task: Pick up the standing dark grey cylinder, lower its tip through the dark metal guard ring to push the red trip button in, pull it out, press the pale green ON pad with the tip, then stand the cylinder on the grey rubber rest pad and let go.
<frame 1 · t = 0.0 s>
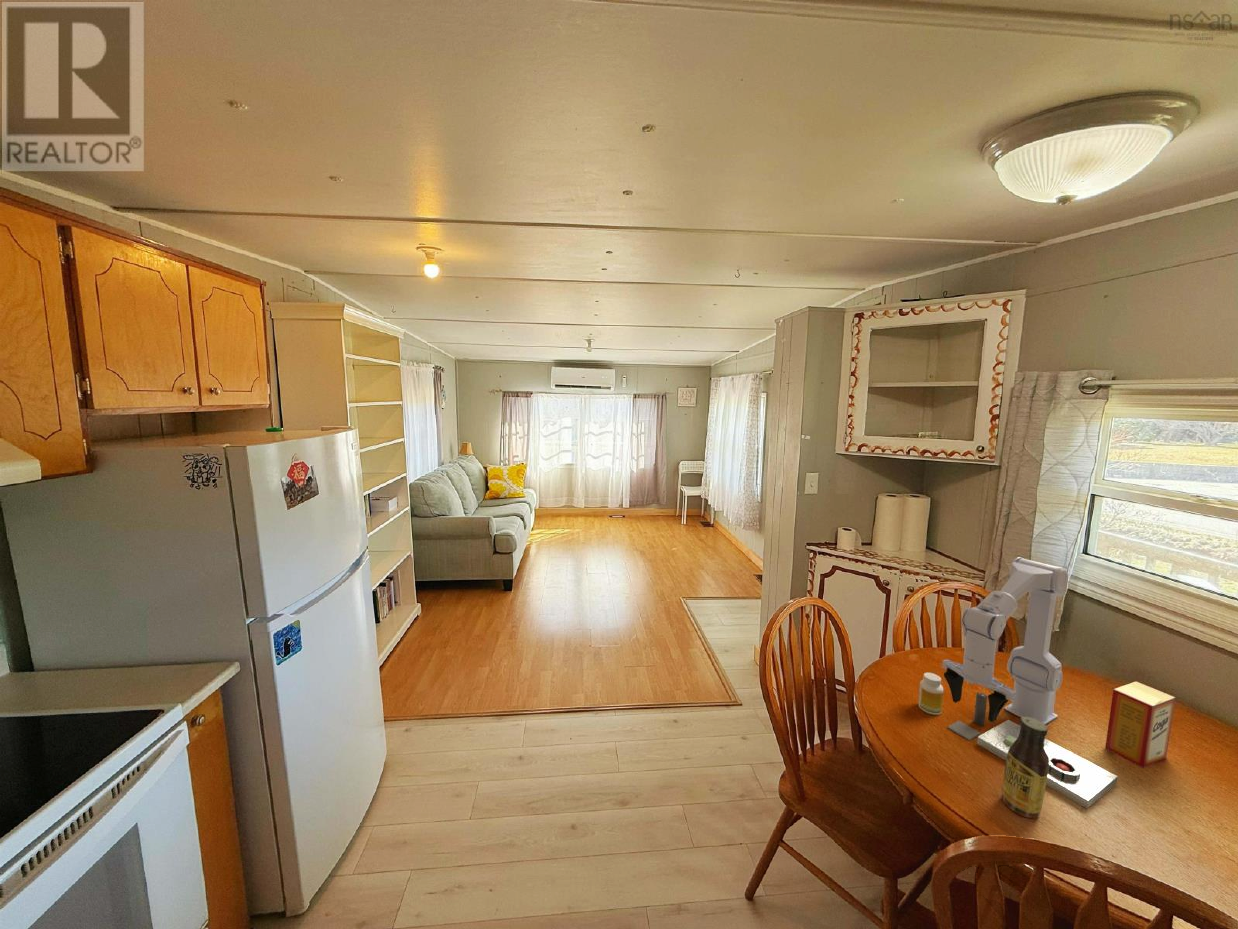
hand: (973, 710, 108), 10 cm above the table, fingers open, 7 cm apart
dark grey cylinder: (979, 722, 118), on the table
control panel: (1042, 763, 104), on the table
on pad: (1013, 743, 108), point 2 cm above the table, slide at 0.0 cm
rest pad: (963, 731, 115), on the table
supplement bottle: (929, 709, 123), on the table
sauce bottle: (1021, 808, 93), on the table
baking soda box: (1135, 753, 107), on the table
trip button: (1061, 770, 100), point 2 cm above the table, slide at 0.0 cm
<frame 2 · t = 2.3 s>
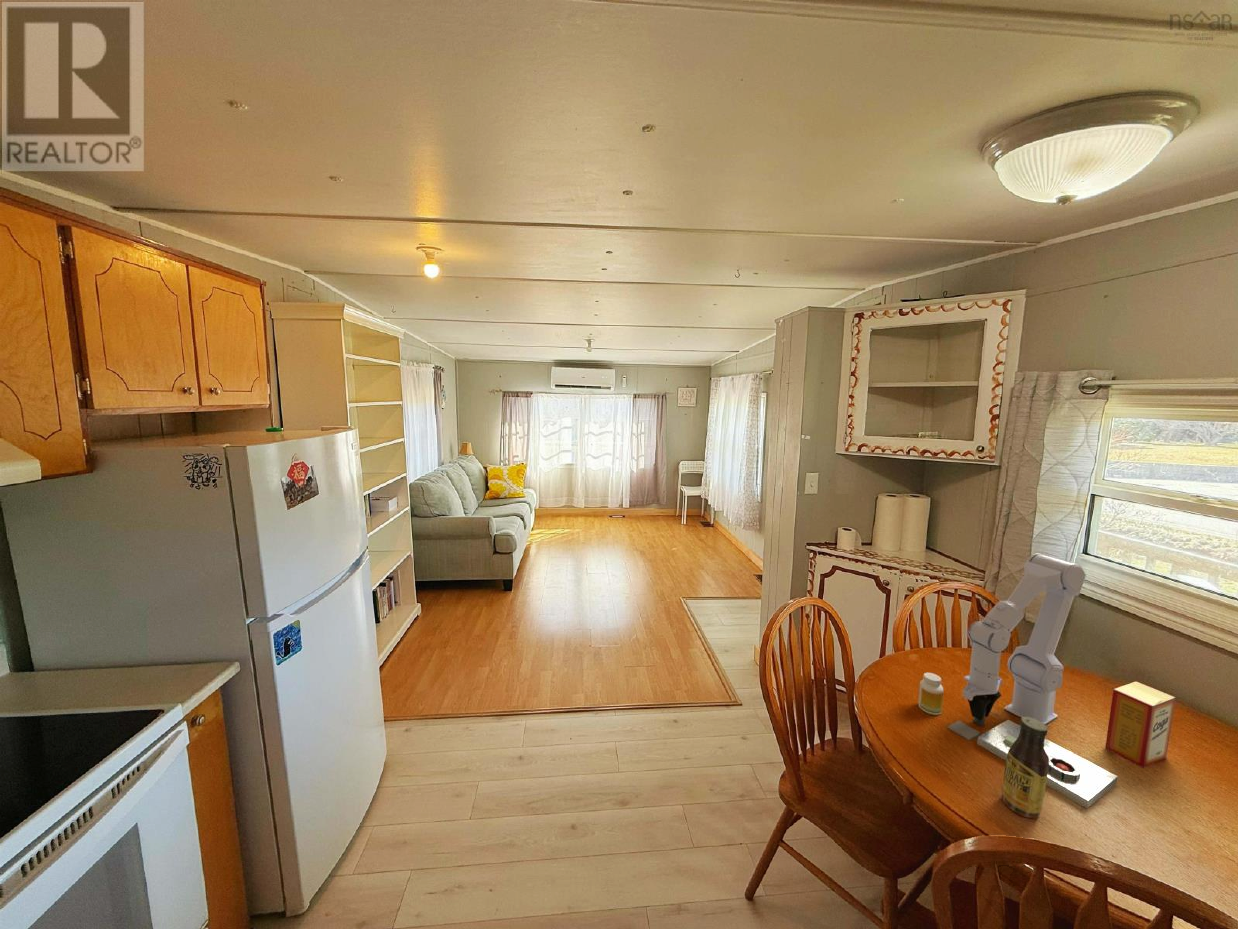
hand: (979, 716, 118), 2 cm above the table, fingers closed on dark grey cylinder, 2 cm apart
dark grey cylinder: (979, 722, 118), on the table, touching gripper
everything else where it was.
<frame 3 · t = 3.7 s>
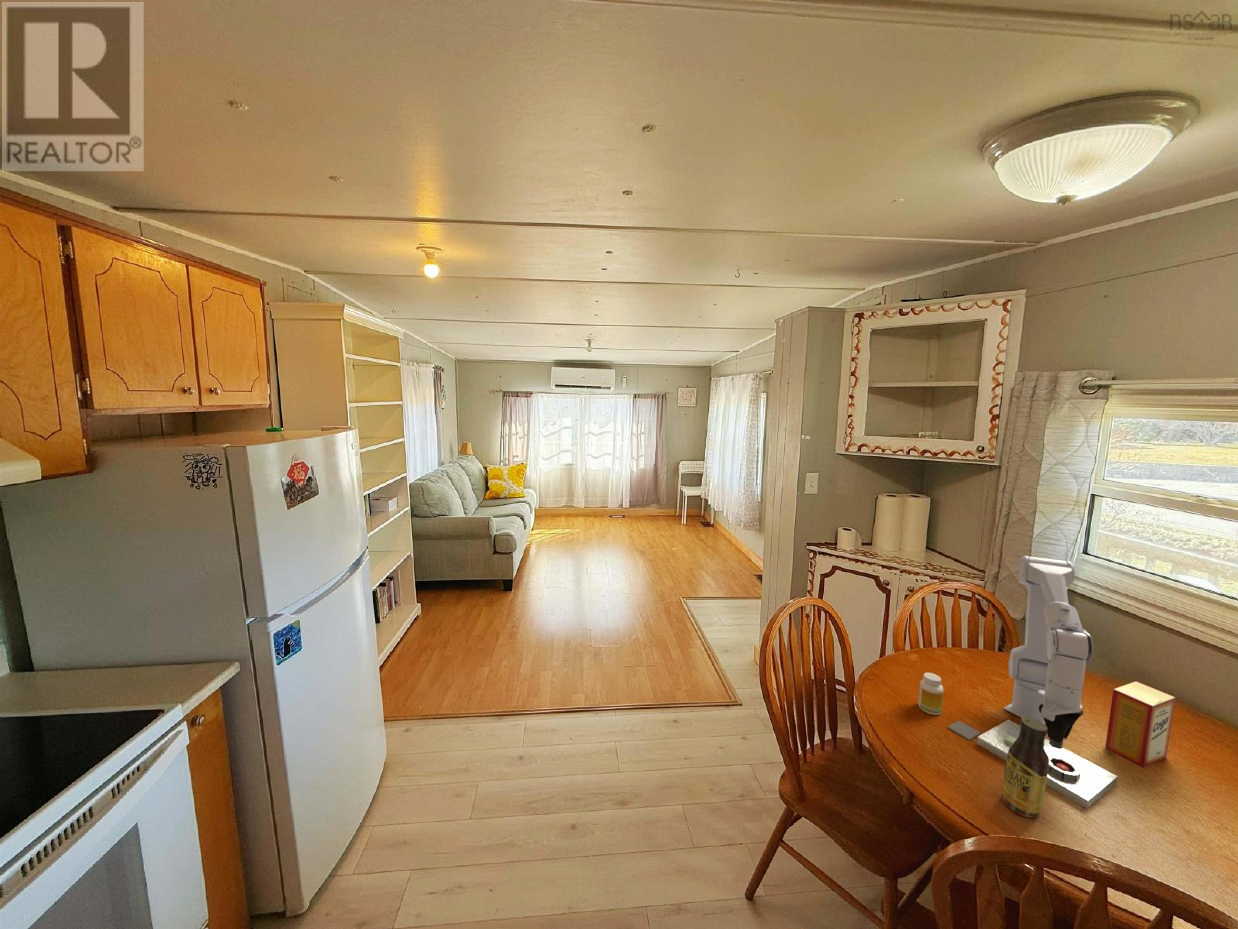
hand: (1057, 738, 100), 9 cm above the table, fingers closed on dark grey cylinder, 2 cm apart
dark grey cylinder: (1055, 745, 101), point 7 cm above the table, touching gripper
everything else where it was.
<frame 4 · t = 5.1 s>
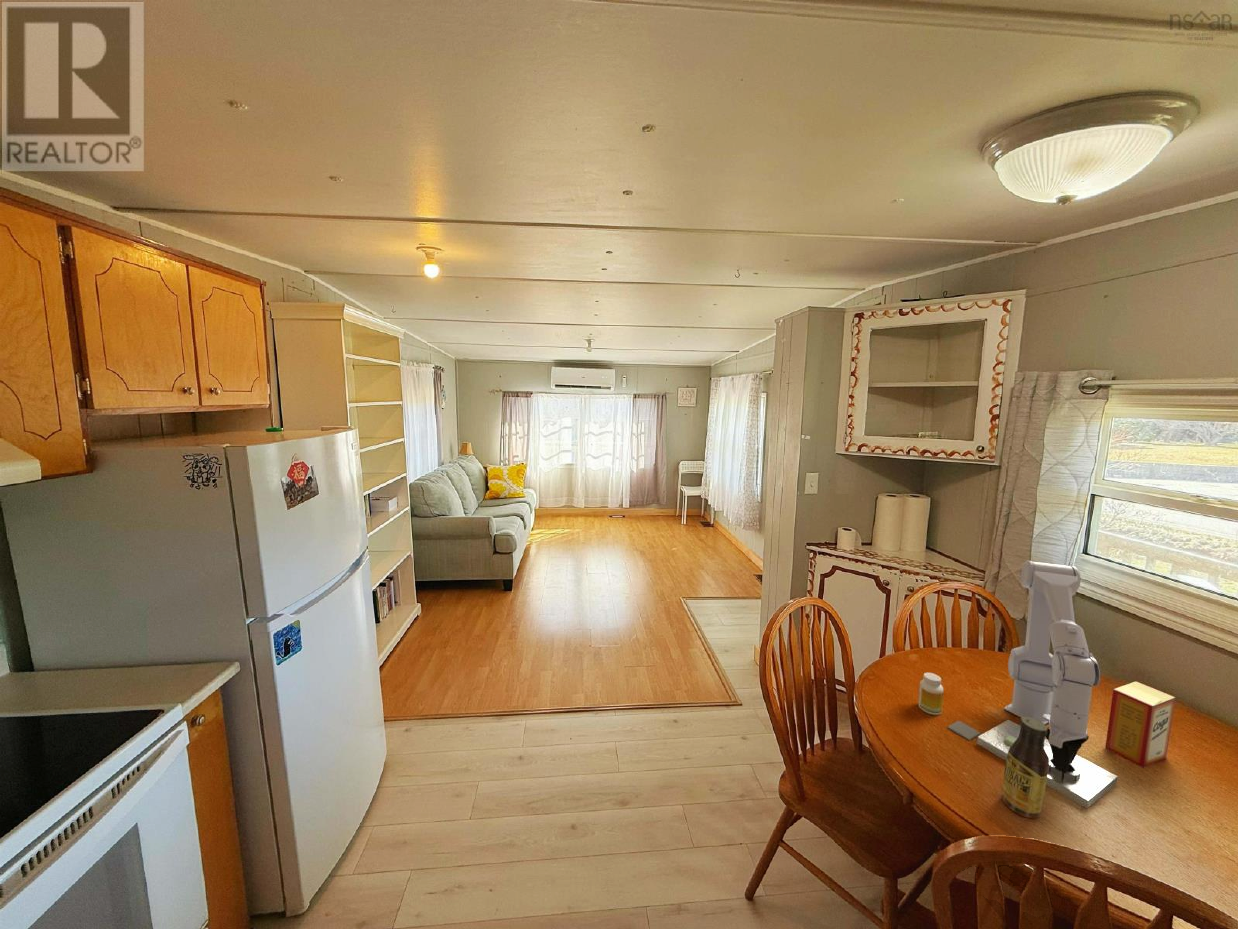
hand: (1063, 762, 99), 4 cm above the table, fingers closed on dark grey cylinder, 2 cm apart
dark grey cylinder: (1061, 770, 100), point 2 cm above the table, touching gripper, trip button
trip button: (1061, 774, 100), point 1 cm above the table, slide at 1.0 cm, touching dark grey cylinder
everything else where it was.
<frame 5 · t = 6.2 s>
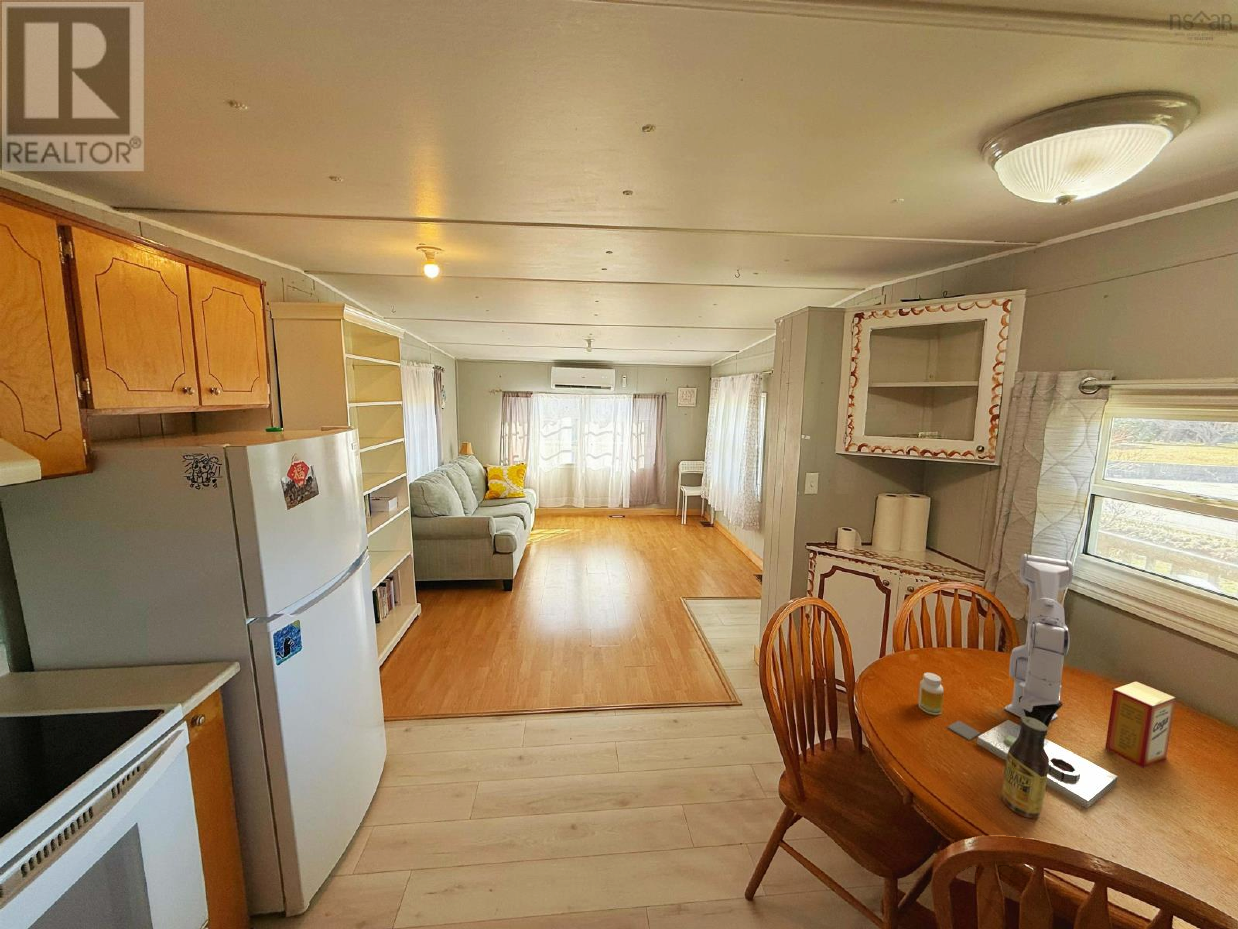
hand: (1037, 728, 103), 9 cm above the table, fingers closed on dark grey cylinder, 2 cm apart
dark grey cylinder: (1035, 736, 104), point 7 cm above the table, touching gripper
trip button: (1061, 774, 100), point 1 cm above the table, slide at 1.0 cm
everything else where it was.
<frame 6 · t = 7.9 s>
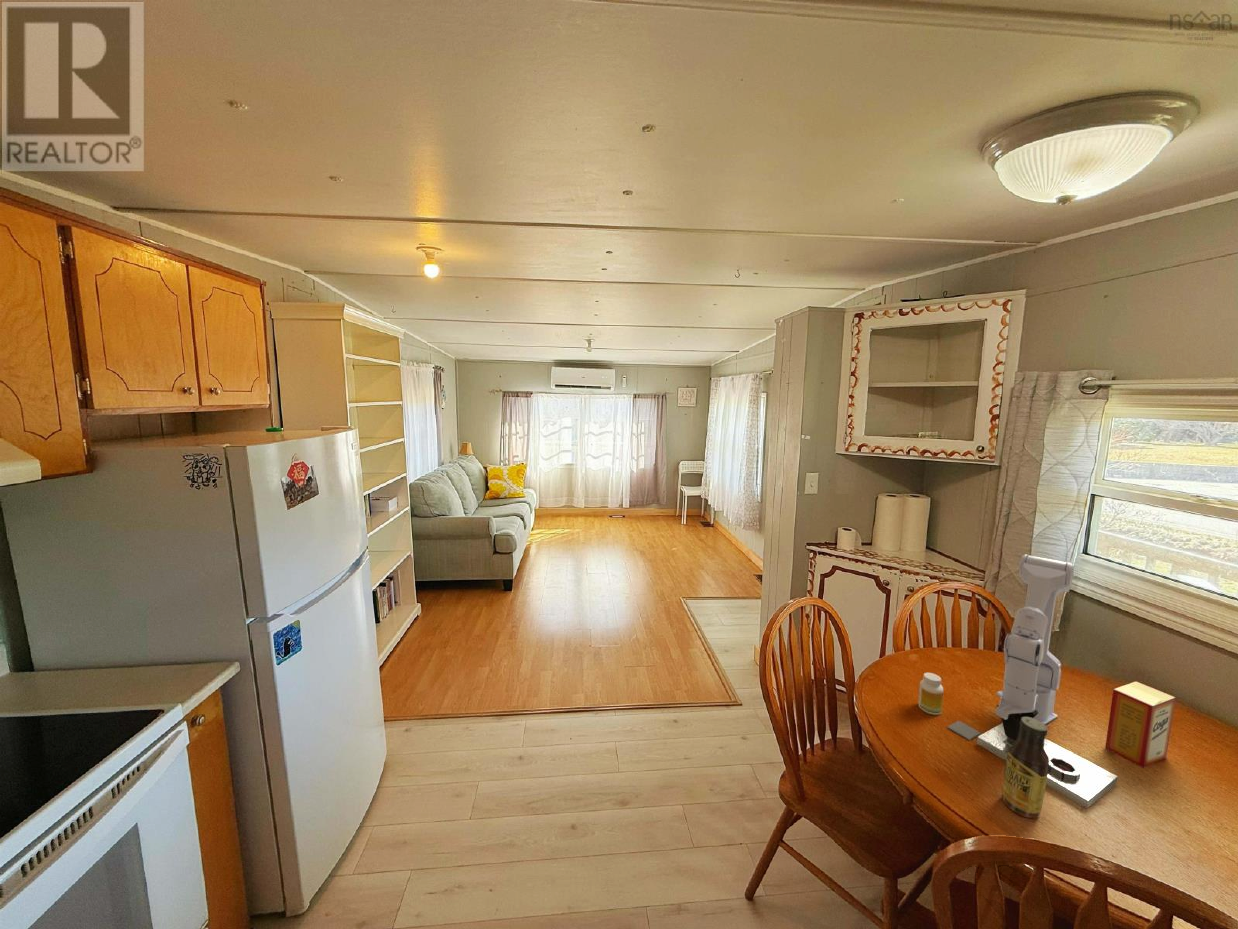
hand: (1014, 735, 108), 4 cm above the table, fingers closed on dark grey cylinder, 2 cm apart
dark grey cylinder: (1012, 743, 108), point 2 cm above the table, touching gripper, on pad
on pad: (1012, 746, 108), point 1 cm above the table, slide at 0.9 cm, touching dark grey cylinder
everything else where it was.
when the fingers open (3 cm above the table, at t = 10.5 s): dark grey cylinder stays where it is, resting on rest pad.
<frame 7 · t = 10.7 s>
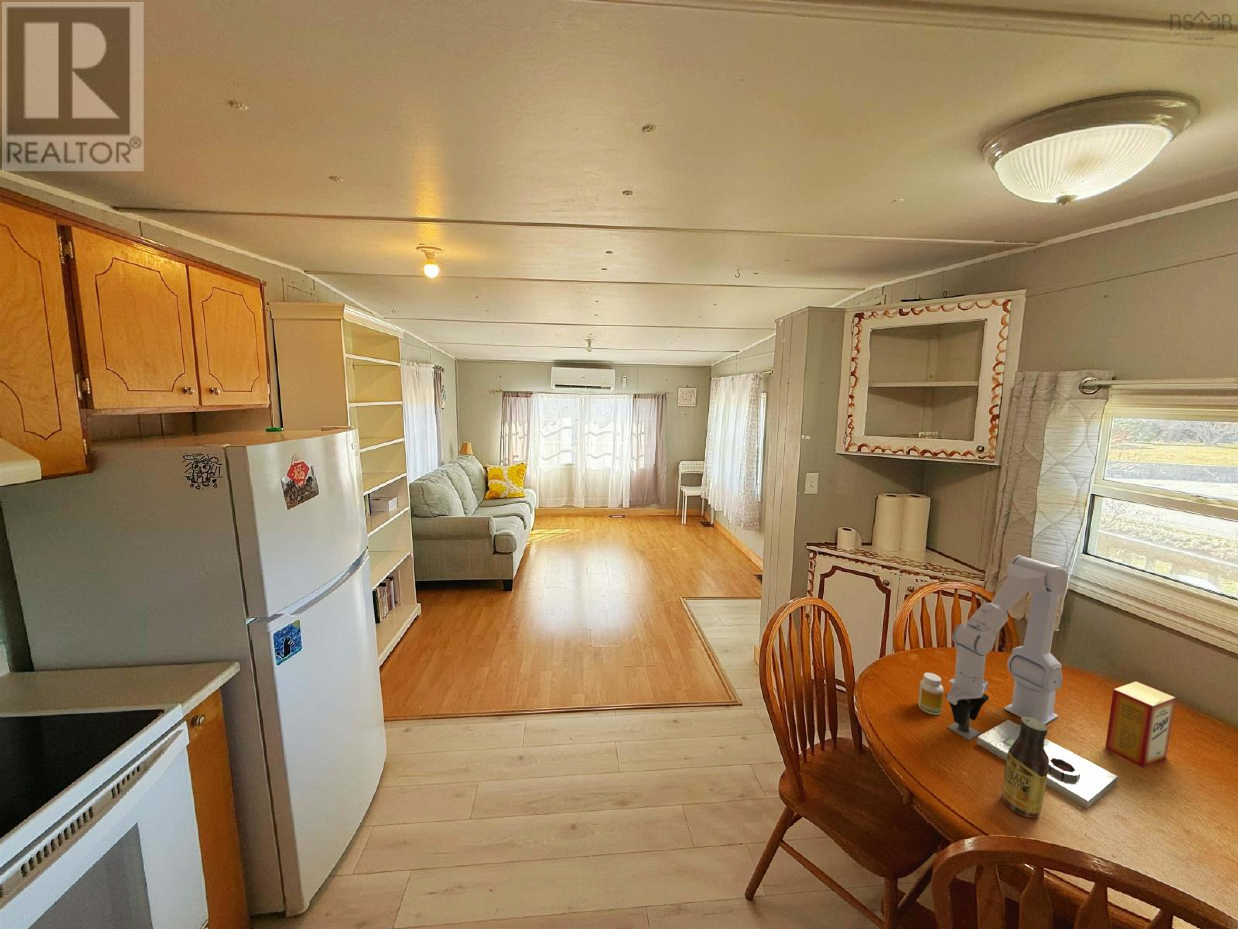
hand: (964, 720, 115), 3 cm above the table, fingers open, 4 cm apart
dark grey cylinder: (963, 729, 115), resting on rest pad
on pad: (1012, 746, 108), point 1 cm above the table, slide at 0.9 cm
everything else where it was.
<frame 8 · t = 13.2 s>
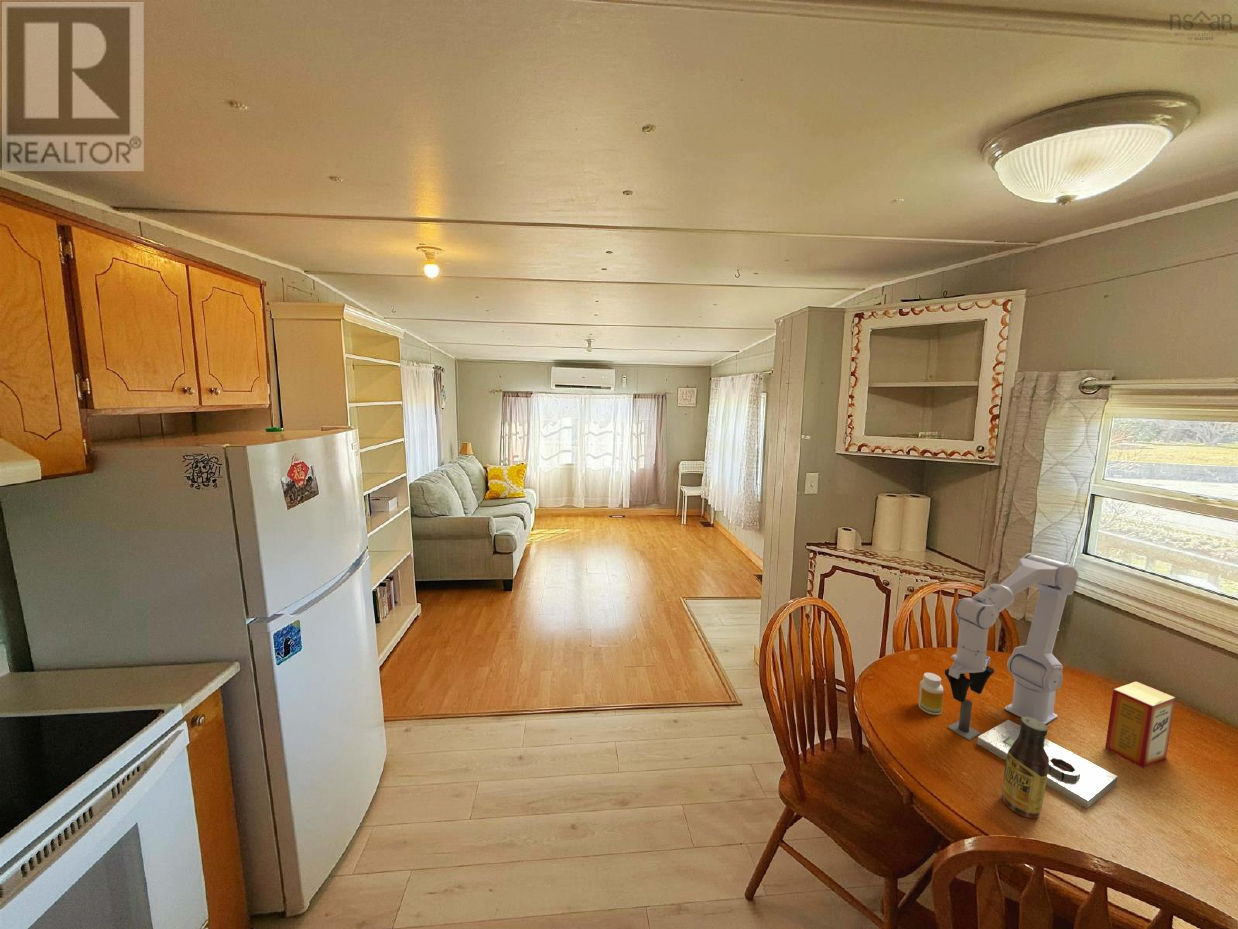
hand: (967, 695, 114), 10 cm above the table, fingers open, 7 cm apart
nothing on the table moved.
at the end: trip button slide at 1.0 cm; on pad slide at 0.9 cm; dark grey cylinder inside the target area on the rest pad (0.1 cm from its centre), point 0.4 cm above the rest pad's base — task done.
